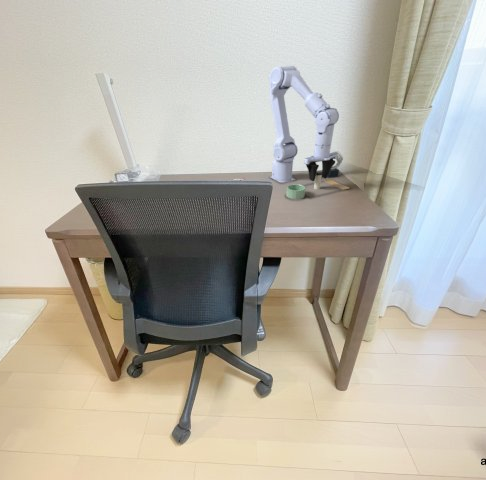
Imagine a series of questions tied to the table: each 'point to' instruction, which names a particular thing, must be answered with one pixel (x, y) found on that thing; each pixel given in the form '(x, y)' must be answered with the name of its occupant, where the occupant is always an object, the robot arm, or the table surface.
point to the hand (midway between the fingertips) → (318, 179)
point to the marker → (318, 180)
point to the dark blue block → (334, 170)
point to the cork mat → (337, 184)
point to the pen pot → (295, 191)
